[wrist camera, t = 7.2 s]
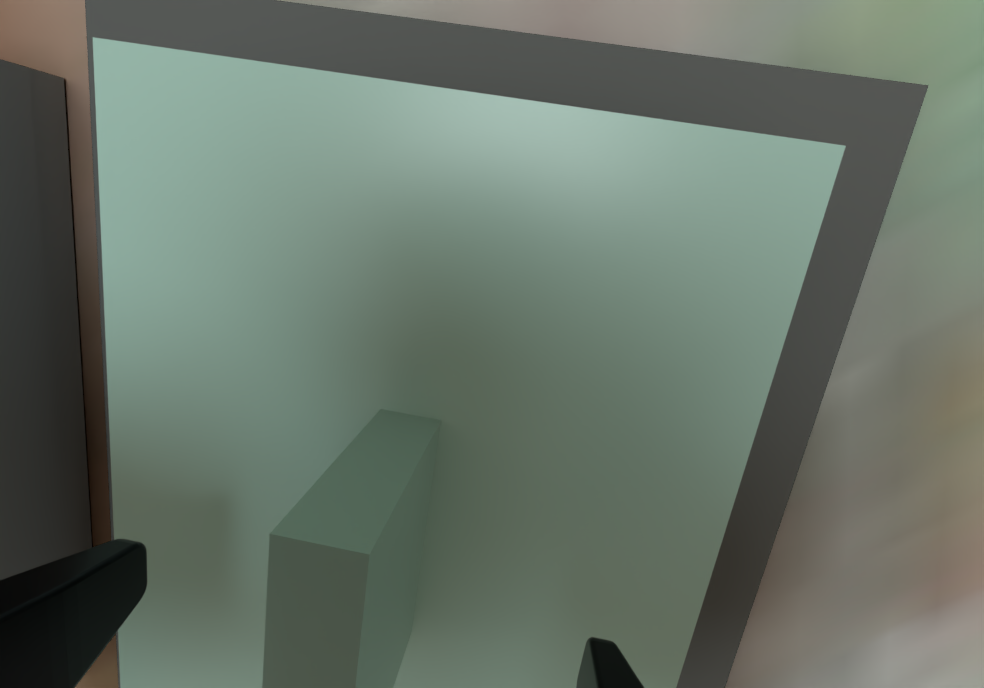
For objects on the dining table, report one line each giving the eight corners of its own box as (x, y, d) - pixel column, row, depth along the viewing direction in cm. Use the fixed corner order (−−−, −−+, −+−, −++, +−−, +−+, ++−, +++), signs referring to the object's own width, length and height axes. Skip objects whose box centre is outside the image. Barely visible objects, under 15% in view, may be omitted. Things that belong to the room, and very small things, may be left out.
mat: (669, 825, 15) (672, 841, 14) (130, 700, 16) (119, 712, 15) (913, 90, 10) (928, 85, 9) (100, -16, 11) (84, -25, 10)
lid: (605, 779, 14) (649, 1196, 8) (184, 682, 15) (-62, 993, 9) (781, 162, 10) (1144, 69, 4) (182, 73, 11) (-282, -117, 5)
